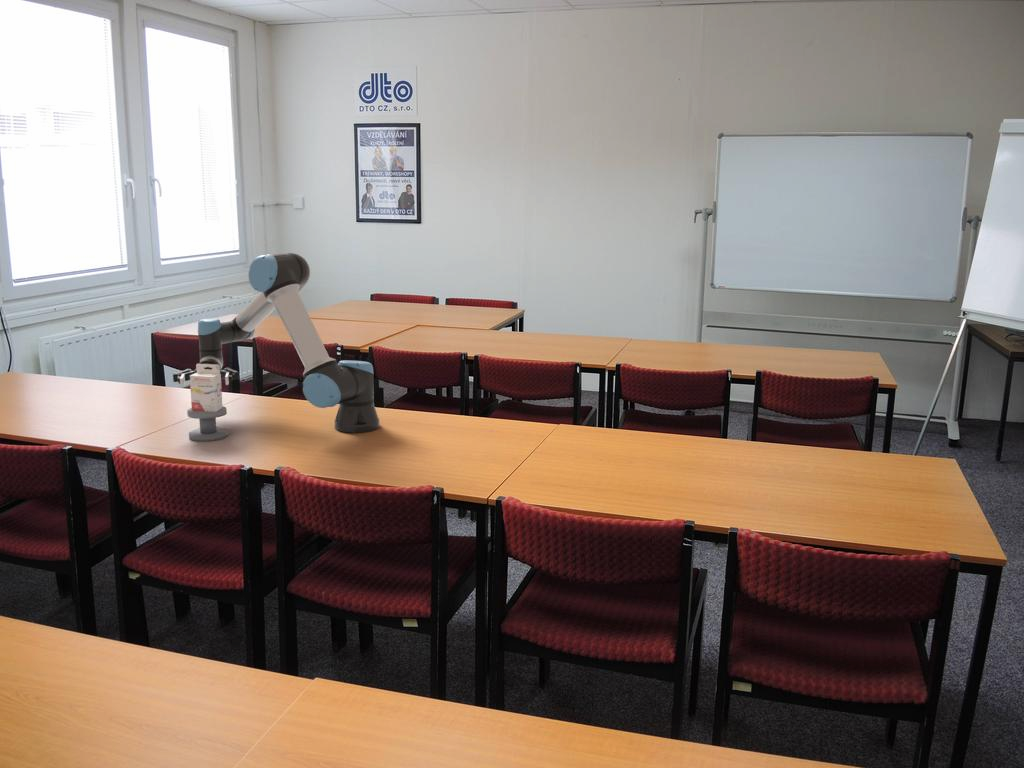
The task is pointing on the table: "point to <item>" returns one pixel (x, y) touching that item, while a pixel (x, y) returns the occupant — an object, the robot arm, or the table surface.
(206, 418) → the stand
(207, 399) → the ink cartridge box
